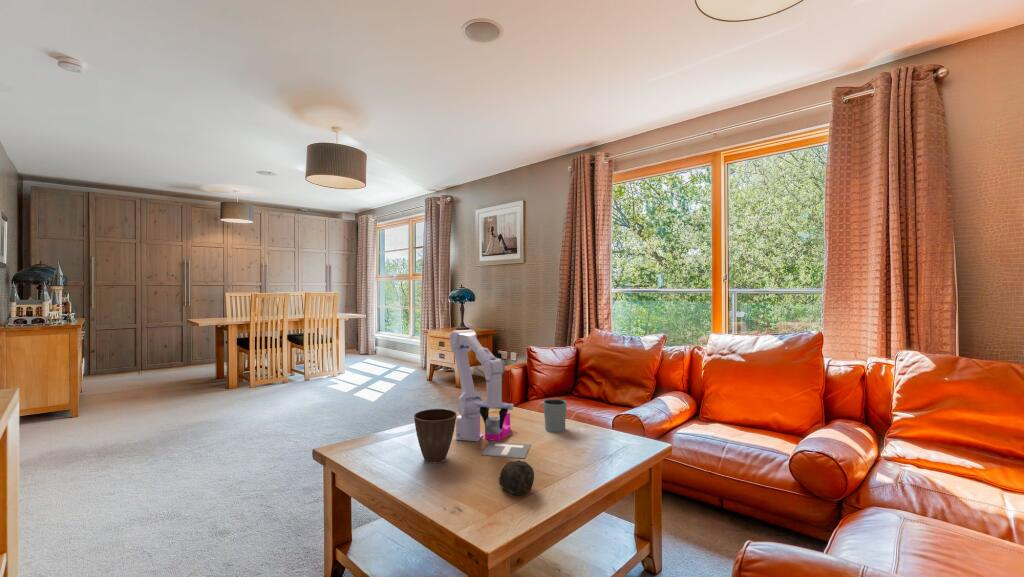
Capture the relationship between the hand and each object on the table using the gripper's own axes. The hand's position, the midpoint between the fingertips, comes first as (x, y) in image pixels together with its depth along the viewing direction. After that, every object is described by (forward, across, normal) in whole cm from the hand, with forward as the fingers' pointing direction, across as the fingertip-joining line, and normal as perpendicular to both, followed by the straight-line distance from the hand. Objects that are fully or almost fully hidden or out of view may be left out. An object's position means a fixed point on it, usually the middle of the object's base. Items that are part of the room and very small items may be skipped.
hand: (494, 427), depth 167 cm
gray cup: (+9, +19, +30) cm, 36 cm away
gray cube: (+2, 0, 0) cm, 2 cm away
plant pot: (+9, -18, -13) cm, 24 cm away
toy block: (+9, -2, +18) cm, 20 cm away
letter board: (+8, +5, +1) cm, 10 cm away
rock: (+9, +15, -30) cm, 35 cm away
